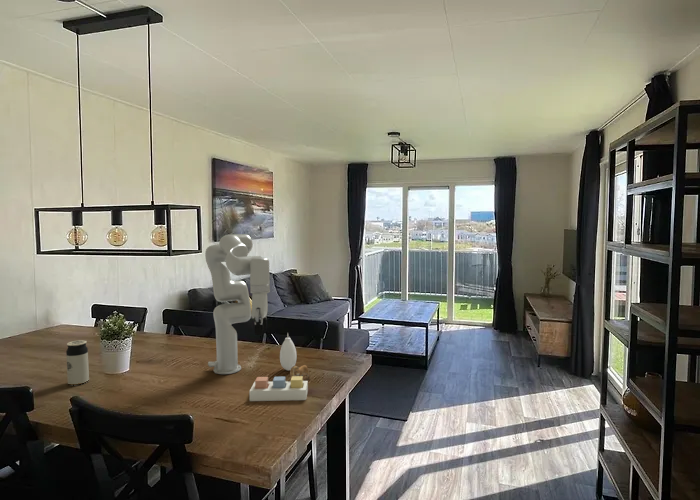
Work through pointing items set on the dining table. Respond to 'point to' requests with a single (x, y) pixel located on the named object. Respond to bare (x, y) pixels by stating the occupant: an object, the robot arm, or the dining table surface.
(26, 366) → the dining table surface
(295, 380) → the ochre button
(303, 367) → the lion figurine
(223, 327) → the robot arm
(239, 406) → the dining table surface
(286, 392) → the button board
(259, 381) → the terracotta button
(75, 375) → the travel mug
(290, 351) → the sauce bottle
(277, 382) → the blue button
